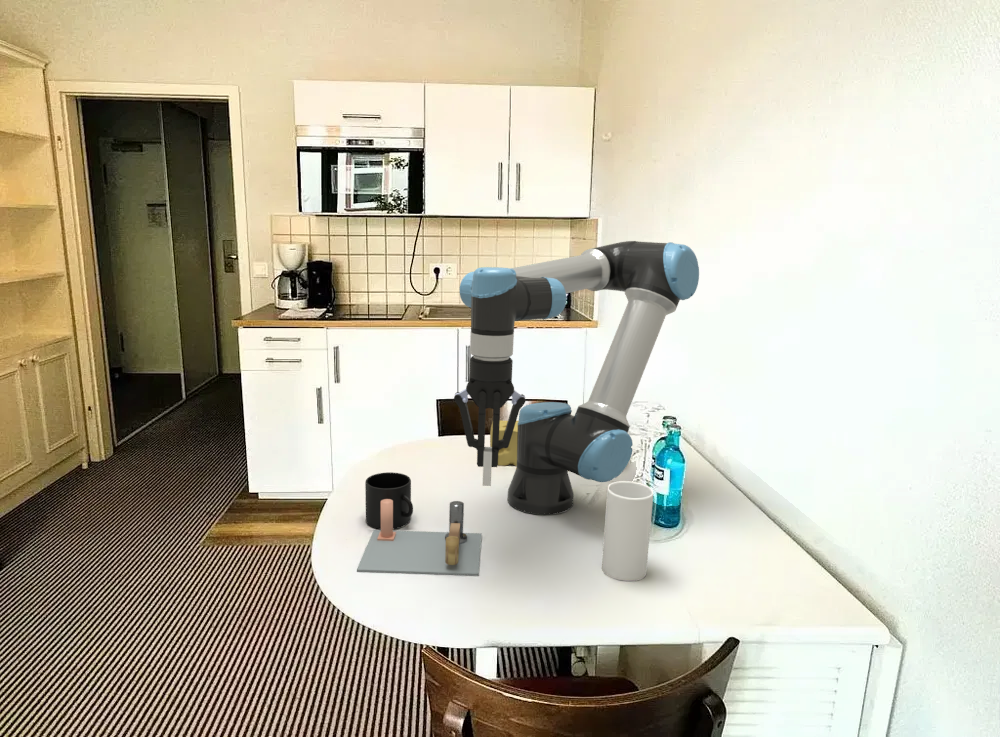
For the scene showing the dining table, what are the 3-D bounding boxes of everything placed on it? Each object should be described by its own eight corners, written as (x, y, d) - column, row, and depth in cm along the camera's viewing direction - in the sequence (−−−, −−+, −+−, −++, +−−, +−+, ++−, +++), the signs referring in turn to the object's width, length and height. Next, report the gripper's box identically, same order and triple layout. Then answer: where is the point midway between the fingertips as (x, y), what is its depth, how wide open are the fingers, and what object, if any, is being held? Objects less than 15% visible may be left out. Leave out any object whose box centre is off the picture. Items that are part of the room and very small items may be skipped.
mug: (395, 538, 133) (395, 496, 131) (356, 520, 140) (355, 480, 138) (428, 523, 140) (429, 483, 138) (389, 507, 148) (389, 468, 146)
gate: (449, 539, 130) (449, 518, 129) (461, 539, 130) (461, 518, 129) (444, 564, 121) (445, 541, 120) (457, 565, 121) (458, 542, 120)
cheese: (529, 467, 175) (531, 431, 173) (488, 466, 175) (489, 429, 173) (528, 454, 185) (529, 419, 183) (489, 452, 185) (490, 418, 183)
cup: (636, 586, 119) (644, 502, 115) (594, 572, 123) (600, 491, 119) (652, 567, 125) (659, 487, 122) (611, 554, 130) (617, 477, 126)
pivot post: (467, 536, 135) (468, 499, 133) (466, 546, 131) (467, 508, 129) (445, 535, 135) (446, 498, 133) (443, 546, 131) (444, 508, 129)
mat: (481, 535, 136) (481, 533, 136) (478, 575, 120) (478, 573, 120) (373, 531, 136) (373, 529, 136) (356, 571, 120) (356, 569, 120)
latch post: (396, 535, 134) (396, 498, 133) (393, 542, 131) (393, 505, 130) (380, 534, 134) (380, 497, 133) (377, 542, 131) (377, 504, 130)
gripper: (527, 353, 120) (521, 476, 125) (455, 351, 120) (452, 474, 125) (529, 362, 113) (523, 492, 118) (452, 359, 113) (449, 489, 118)
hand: (486, 482), depth 122 cm, fingers closed
